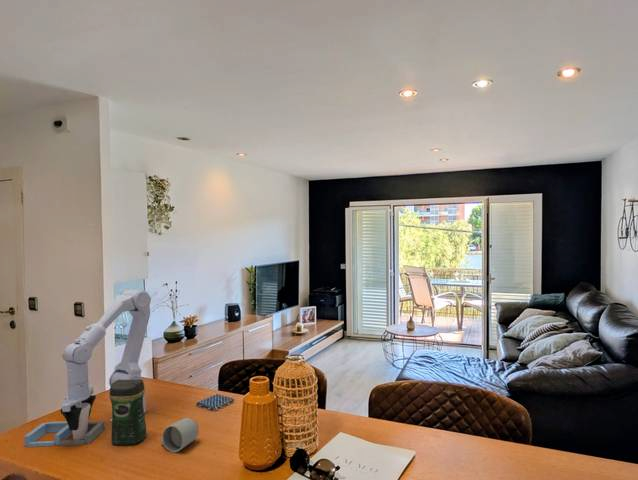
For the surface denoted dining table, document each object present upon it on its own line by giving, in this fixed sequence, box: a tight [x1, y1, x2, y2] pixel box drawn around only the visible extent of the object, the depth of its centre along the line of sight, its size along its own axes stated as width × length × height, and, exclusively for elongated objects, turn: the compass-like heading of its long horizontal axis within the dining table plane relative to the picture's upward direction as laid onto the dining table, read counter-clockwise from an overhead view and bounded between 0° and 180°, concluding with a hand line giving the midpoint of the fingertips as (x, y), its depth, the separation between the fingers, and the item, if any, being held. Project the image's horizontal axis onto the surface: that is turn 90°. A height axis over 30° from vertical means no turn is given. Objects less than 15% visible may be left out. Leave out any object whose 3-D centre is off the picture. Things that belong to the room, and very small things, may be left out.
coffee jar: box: [109, 378, 147, 446], centre depth 131 cm, size 10×8×19 cm
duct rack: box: [23, 420, 106, 448], centre depth 133 cm, size 20×10×3 cm, turn 92°
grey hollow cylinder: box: [160, 417, 199, 453], centre depth 127 cm, size 11×8×8 cm
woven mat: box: [195, 393, 235, 413], centre depth 156 cm, size 10×11×2 cm
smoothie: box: [72, 402, 92, 440], centre depth 133 cm, size 6×6×14 cm
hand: (79, 424), depth 133 cm, fingers closed on smoothie, 6 cm apart
